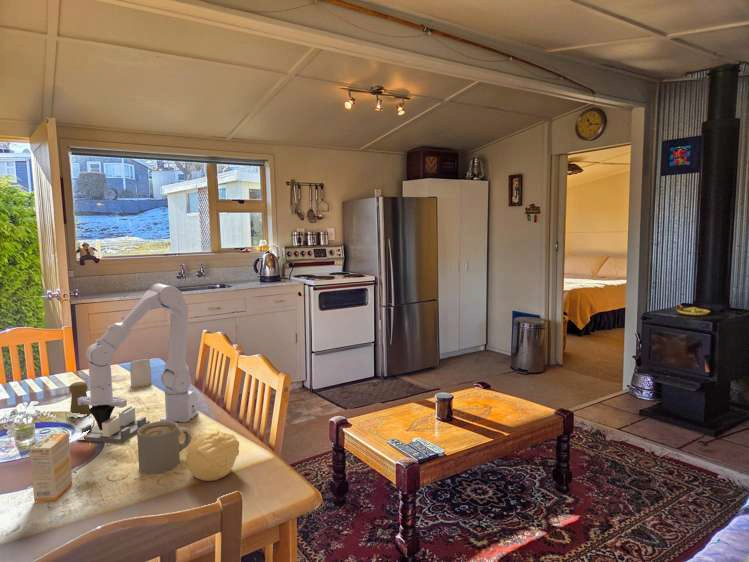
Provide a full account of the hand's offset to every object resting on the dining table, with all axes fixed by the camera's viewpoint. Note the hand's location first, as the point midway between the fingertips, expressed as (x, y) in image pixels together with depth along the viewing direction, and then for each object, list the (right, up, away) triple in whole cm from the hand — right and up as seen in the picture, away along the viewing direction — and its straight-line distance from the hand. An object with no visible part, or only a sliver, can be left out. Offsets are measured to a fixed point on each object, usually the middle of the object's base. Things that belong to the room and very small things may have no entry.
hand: (103, 429), depth 149 cm
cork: (-17, -1, +18) cm, 25 cm away
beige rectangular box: (-12, +3, +49) cm, 51 cm away
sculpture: (+39, -5, -22) cm, 45 cm away
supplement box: (+5, -6, -31) cm, 32 cm away
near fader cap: (+2, -1, 0) cm, 3 cm away
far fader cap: (+3, 0, +8) cm, 8 cm away
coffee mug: (+25, -5, -15) cm, 30 cm away
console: (+1, -2, +4) cm, 5 cm away
